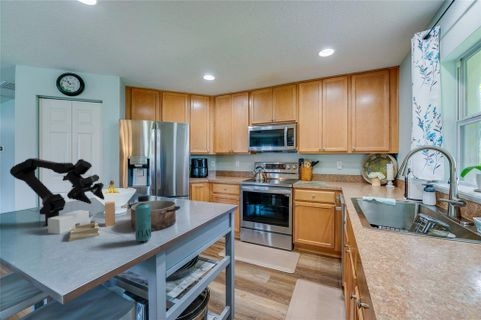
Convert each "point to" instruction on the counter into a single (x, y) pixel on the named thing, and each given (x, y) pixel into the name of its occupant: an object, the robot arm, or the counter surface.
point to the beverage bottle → (143, 219)
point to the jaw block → (109, 213)
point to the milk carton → (68, 221)
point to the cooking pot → (158, 214)
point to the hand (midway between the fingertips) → (97, 201)
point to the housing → (84, 231)
